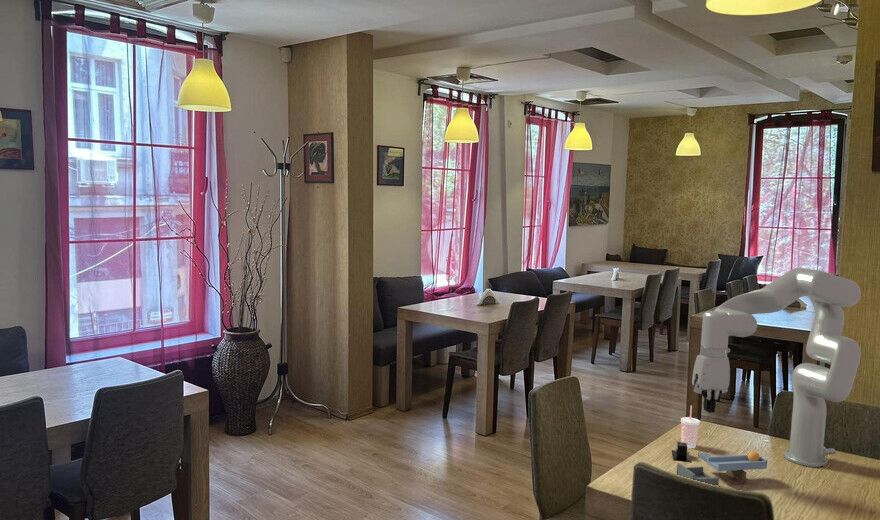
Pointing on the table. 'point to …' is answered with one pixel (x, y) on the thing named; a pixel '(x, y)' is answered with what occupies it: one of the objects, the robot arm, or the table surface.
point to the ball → (753, 456)
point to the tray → (696, 474)
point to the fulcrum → (736, 477)
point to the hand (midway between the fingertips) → (709, 411)
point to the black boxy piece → (681, 453)
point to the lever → (733, 462)
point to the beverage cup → (689, 430)
